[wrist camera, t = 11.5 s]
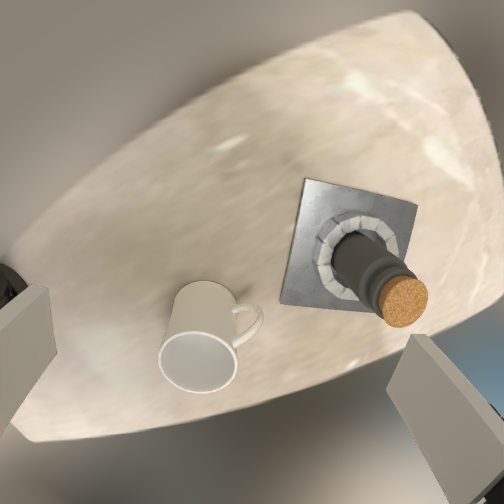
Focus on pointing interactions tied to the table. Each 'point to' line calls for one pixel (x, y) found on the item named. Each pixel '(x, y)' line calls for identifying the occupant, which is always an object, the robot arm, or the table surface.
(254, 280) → the table surface
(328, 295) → the collar plate
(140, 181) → the table surface
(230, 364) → the mug
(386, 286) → the bottle
